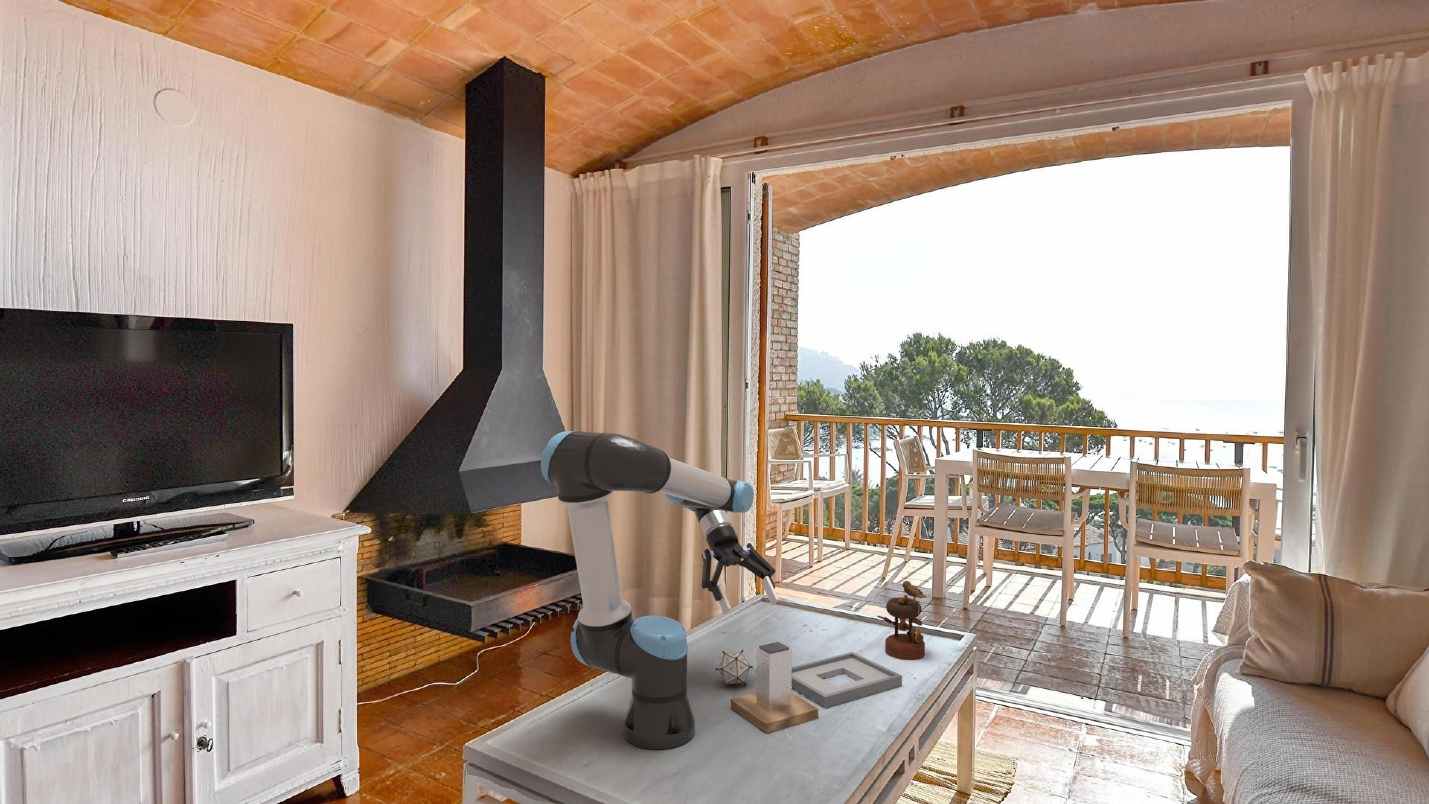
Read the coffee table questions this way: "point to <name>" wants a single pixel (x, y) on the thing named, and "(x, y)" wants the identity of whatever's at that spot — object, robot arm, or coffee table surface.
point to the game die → (734, 668)
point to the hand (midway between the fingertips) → (752, 607)
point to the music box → (905, 625)
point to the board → (774, 712)
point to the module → (774, 676)
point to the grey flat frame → (856, 667)
